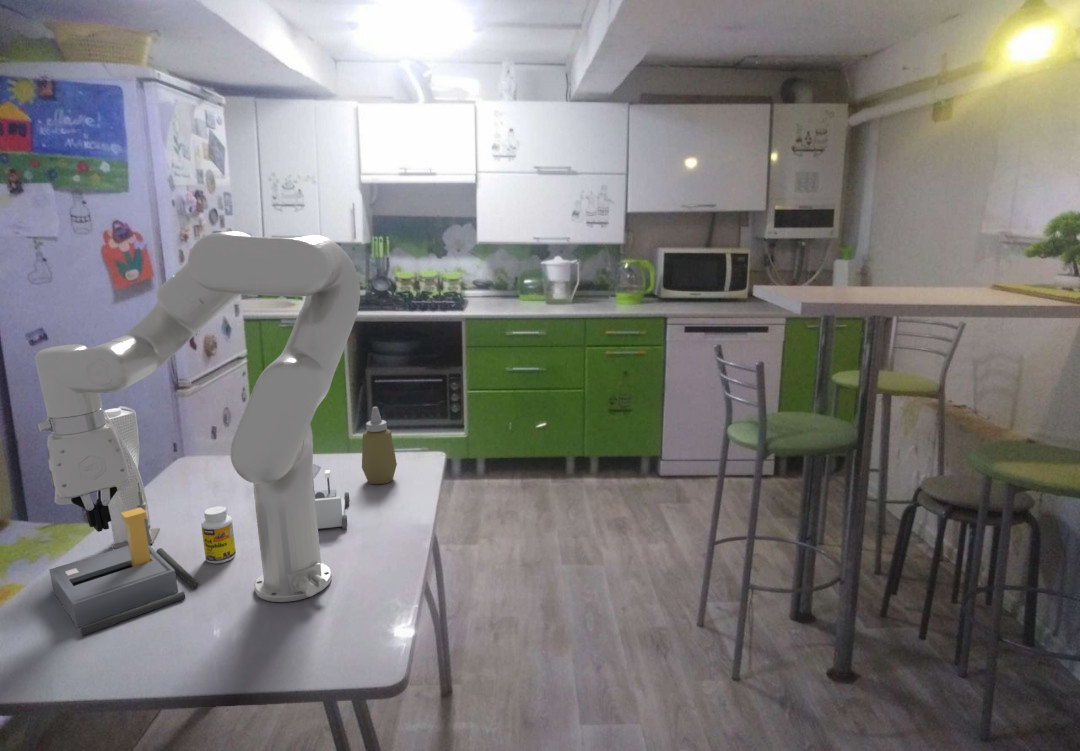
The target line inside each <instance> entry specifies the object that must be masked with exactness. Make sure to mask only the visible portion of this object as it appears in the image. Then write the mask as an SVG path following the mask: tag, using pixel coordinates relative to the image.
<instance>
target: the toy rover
mask: <svg viewBox="0 0 1080 751" xmlns="http://www.w3.org/2000/svg"><path fill="white" fill-rule="evenodd" d="M321 469H322V467H321V466H320V465H319V464H317V463H316V464H315V463H313V479H315V478H317V476H318V474H319V473H320V471H321ZM324 478H325V479H326V480H327V489H326V490H314V491H315V503H316V514H317V525H318V530H320V529H329V528H337V527H342V531H345V530H344V529H347V530H348V516H347V514H345V510H346V509H345V508H346V507H347V505H349V506H350V503H349V502H350V501H351V500H350V494H349V491H348V492H347V491H346V492H344V497H343V496H342V497H341V496H337V489H336V488H335V489H331V486H330V478H331V470H330V469H325V470H324Z"/></svg>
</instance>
